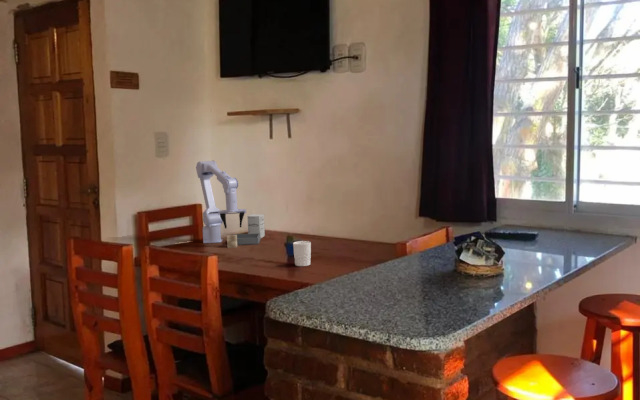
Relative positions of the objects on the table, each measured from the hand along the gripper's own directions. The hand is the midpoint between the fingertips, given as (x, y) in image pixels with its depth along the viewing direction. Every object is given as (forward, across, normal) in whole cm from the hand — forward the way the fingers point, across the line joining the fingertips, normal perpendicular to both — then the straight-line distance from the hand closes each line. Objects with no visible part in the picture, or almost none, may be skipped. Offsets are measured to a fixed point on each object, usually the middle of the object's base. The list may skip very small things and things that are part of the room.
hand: (233, 227), depth 338 cm
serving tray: (+10, +4, +11) cm, 15 cm away
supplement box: (+10, +10, +26) cm, 29 cm away
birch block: (+10, -1, 0) cm, 10 cm away
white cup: (+12, +34, -50) cm, 62 cm away
